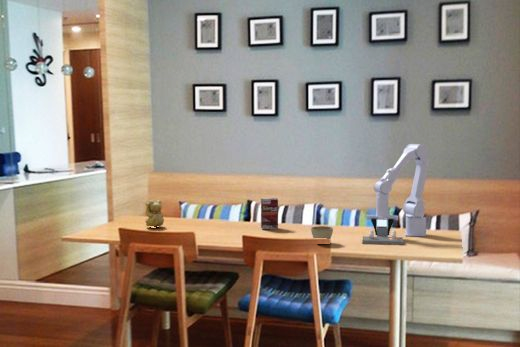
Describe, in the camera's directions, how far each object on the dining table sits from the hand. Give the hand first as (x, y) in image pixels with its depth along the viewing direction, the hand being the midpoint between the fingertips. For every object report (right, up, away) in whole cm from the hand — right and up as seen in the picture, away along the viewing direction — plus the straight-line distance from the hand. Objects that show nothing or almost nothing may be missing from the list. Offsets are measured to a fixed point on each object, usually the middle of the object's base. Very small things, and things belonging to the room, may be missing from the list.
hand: (382, 234), depth 265 cm
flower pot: (-30, -3, -11) cm, 32 cm away
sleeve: (0, -1, 0) cm, 1 cm away
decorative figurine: (-114, 0, +33) cm, 118 cm away
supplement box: (-53, 0, +26) cm, 59 cm away
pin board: (-2, -2, -10) cm, 10 cm away
